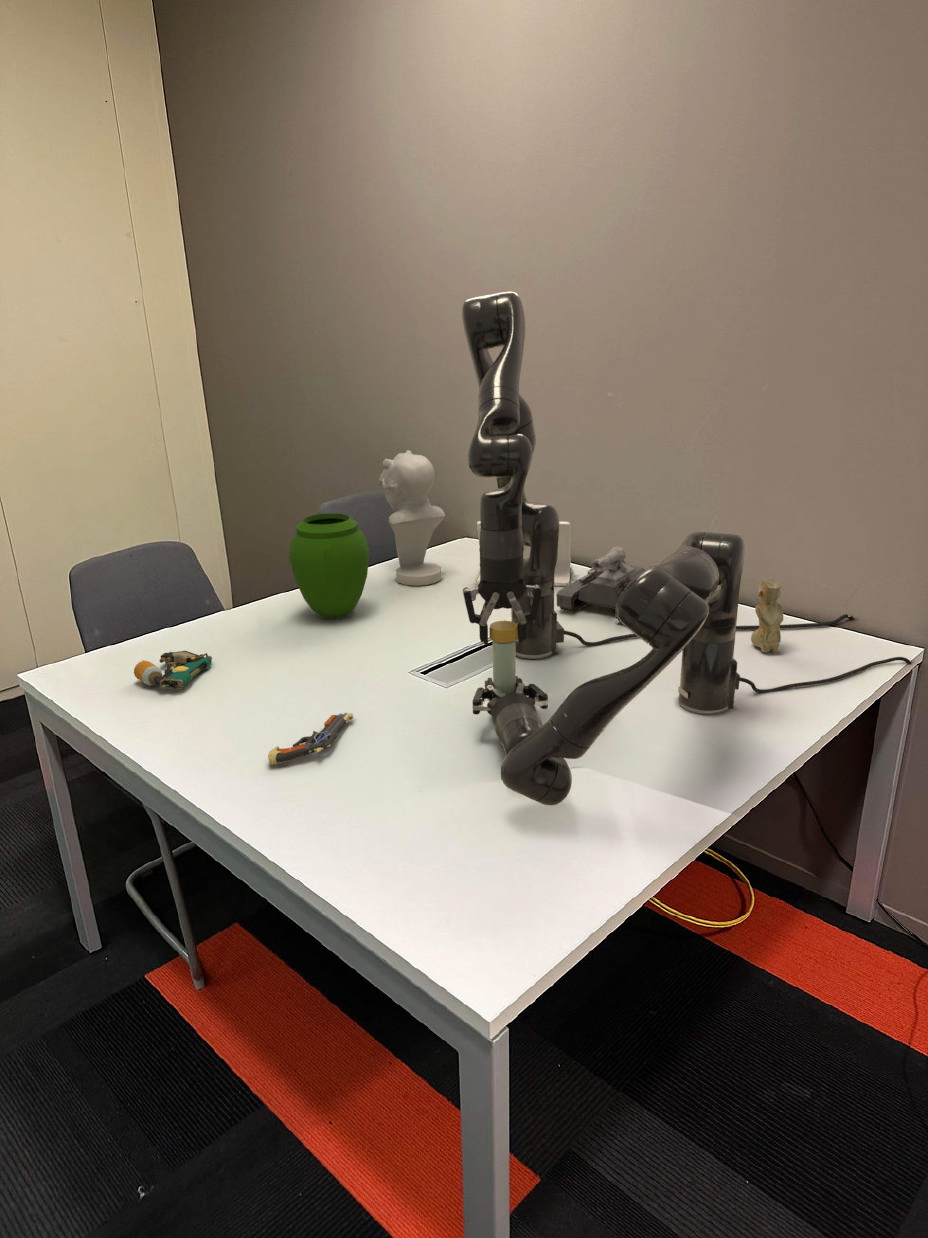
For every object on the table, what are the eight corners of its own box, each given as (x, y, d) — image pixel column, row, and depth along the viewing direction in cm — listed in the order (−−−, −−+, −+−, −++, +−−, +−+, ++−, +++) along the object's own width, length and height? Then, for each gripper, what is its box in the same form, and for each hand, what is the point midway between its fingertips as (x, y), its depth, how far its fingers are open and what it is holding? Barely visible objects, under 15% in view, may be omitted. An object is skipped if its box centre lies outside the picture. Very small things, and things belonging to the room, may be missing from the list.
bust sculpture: (418, 559, 256) (413, 441, 244) (456, 580, 236) (452, 453, 224) (369, 568, 249) (360, 447, 237) (403, 590, 229) (396, 460, 217)
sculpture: (772, 641, 189) (778, 577, 184) (784, 654, 182) (792, 587, 177) (746, 642, 189) (752, 578, 183) (758, 655, 182) (764, 588, 177)
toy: (603, 584, 229) (605, 530, 224) (673, 597, 218) (677, 540, 213) (555, 612, 210) (556, 553, 205) (630, 627, 199) (633, 566, 194)
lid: (484, 640, 151) (484, 628, 150) (496, 630, 155) (496, 618, 155) (511, 644, 149) (511, 632, 148) (522, 634, 153) (522, 622, 152)
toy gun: (262, 754, 143) (318, 752, 141) (303, 710, 161) (353, 708, 159) (266, 769, 144) (321, 767, 142) (306, 724, 162) (356, 721, 160)
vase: (389, 608, 216) (383, 514, 208) (339, 633, 201) (330, 533, 192) (330, 596, 226) (322, 506, 218) (278, 619, 211) (267, 523, 202)
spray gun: (177, 659, 191) (231, 671, 185) (120, 684, 176) (176, 698, 171) (176, 641, 190) (230, 653, 184) (118, 665, 175) (174, 678, 169)
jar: (512, 713, 160) (511, 623, 154) (518, 723, 157) (518, 631, 150) (491, 716, 159) (489, 626, 153) (497, 726, 156) (495, 634, 149)
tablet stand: (569, 585, 229) (570, 524, 223) (476, 584, 232) (475, 523, 226) (570, 566, 246) (571, 508, 240) (484, 564, 249) (483, 507, 243)
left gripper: (540, 544, 150) (539, 633, 156) (458, 547, 150) (461, 636, 156) (546, 556, 143) (545, 648, 149) (460, 559, 143) (463, 652, 149)
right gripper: (560, 700, 142) (539, 660, 158) (474, 707, 140) (463, 665, 156) (559, 740, 144) (539, 696, 160) (476, 747, 143) (464, 702, 159)
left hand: (502, 642), depth 152 cm, fingers open, 5 cm apart
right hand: (502, 681), depth 158 cm, fingers closed on jar, 4 cm apart
